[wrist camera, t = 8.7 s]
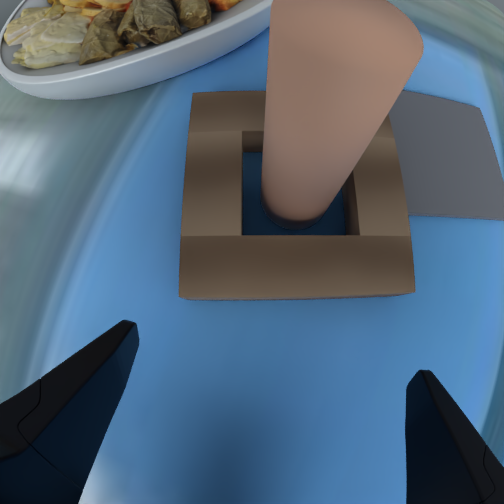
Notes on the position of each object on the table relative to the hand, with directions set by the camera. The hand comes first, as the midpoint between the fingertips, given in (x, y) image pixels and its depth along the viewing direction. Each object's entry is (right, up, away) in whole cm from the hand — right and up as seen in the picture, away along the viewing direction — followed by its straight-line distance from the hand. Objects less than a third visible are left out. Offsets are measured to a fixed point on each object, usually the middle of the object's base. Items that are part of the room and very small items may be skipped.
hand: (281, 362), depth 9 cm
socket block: (+2, +7, +10) cm, 12 cm away
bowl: (-11, +28, +15) cm, 34 cm away
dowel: (+2, +6, +10) cm, 12 cm away
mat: (+14, +10, +11) cm, 20 cm away
